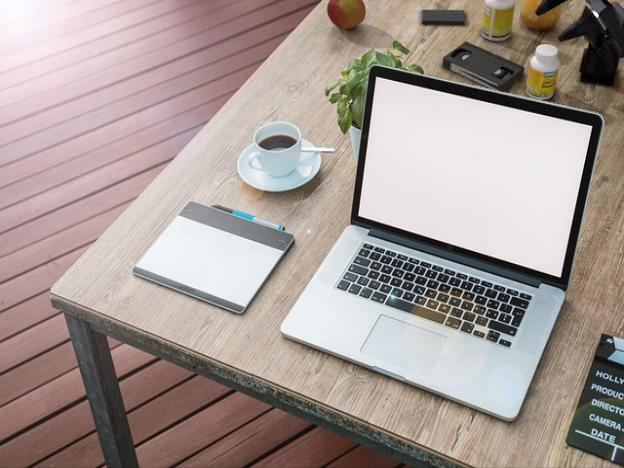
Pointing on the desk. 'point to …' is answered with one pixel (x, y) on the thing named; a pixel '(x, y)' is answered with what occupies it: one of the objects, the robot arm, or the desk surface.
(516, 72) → the vhs tape
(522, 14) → the fruit
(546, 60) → the supplement bottle
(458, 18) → the scrub mat
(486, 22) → the pill bottle
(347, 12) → the apple
